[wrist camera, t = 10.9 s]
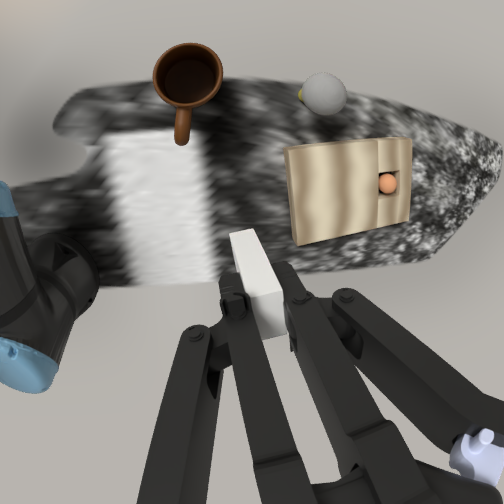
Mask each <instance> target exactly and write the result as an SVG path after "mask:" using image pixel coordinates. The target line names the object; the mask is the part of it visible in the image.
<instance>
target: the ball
mask: <svg viewBox="0 0 504 504" xmlns="http://www.w3.org/2000/svg"><path fill="white" fill-rule="evenodd" d="M396 187H397V181H396V179H395V177H394V176H393V175H391V174H388V173H386V174H382V175H381V176H380V177H379V189H380V190H381V191H382V192H383V193H387V194H389V193H392V192H394V191H395V189H396Z"/></svg>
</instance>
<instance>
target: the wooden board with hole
mask: <svg viewBox="0 0 504 504" xmlns="http://www.w3.org/2000/svg"><path fill="white" fill-rule="evenodd" d="M283 150H284V158H285V167H286V176H287V185H288V194H289V204H290V214H291V225H292V236H293V240H294V241H295V243H296V244H297V246H300V245H304V244H309V243H313V242H318V241H322V240H327V239H331V238H335V237H340V236H344V235H348V234H353V233H357V232H362V231H366V230H370V229H375V228H379V227H383V226H388V225H392V224H396V223H401V222H405V221H409V210H410V196H411V176H412V139H409V138H405V137H388V138H370V139H356V140H344V141H334V142H324V143H315V144H307V145H299V146H291V147H284V148H283ZM388 171H392V175H393V176H394V177H395V179H396V181H397V187H396V189H395V191H394V192H392V193H389V194H387V193H378V187H379V173H380V172H388Z"/></svg>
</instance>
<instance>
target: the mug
mask: <svg viewBox="0 0 504 504" xmlns="http://www.w3.org/2000/svg"><path fill="white" fill-rule="evenodd" d="M222 79H223V67H222V63H221V61H220V59H219V57H218V56H217V54H216V53H215V52H214V51H213V50H211V49H210V48H208V47H206V46H204V45H201V44H198V43H183V44H179V45H176V46H174V47H172V48H170V49H169V50H167V51H166V52H165V53H163V54H162V56H161V57H160V58H159V59H158V61H157V63H156V65H155V67H154V71H153V84H154V87H155V90H156V92H157V93H158V95H159V96H160V97H161V99H163V100H164V101H165V102H166V103H168V104H170V105H172V106H174V107H176V108H177V111H176V120H175V130H174V140H175V143H176V144H177V145H179V146H184V145H186V144H187V143H188V141H189V137H190V127H191V117H192V109H193V108H195V107H199V106H201V105H203V104H205V103H206V102H208V101H209V100H210V99H212V98H213V97H214V95H215V94H216V93H217V92H218V90H219V88H220V86H221V83H222Z"/></svg>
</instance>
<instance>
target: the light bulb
mask: <svg viewBox="0 0 504 504" xmlns="http://www.w3.org/2000/svg"><path fill="white" fill-rule="evenodd" d="M298 97H299V99H300V100H301V101H302V102H304V103H305V105H306V106H307V107H308V108H309V109H310V110H311V111H313V112H315V113H317V114H320V115H332V114H335V113H337V112H338V111H340V110H341V109H342V108H343V107H344V105H345V103H346V100H347V91H346V88H345V86H344V84H343V83H342V81H341V80H340V79H338V78H337V77H336V76H334V75H332V74H328V73H318V74H314V75H312V76H310V77H309V78H308V79H307V80H306V81H305V82H304V84H303V86H302V89H301V90H300V91H299V93H298Z"/></svg>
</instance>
